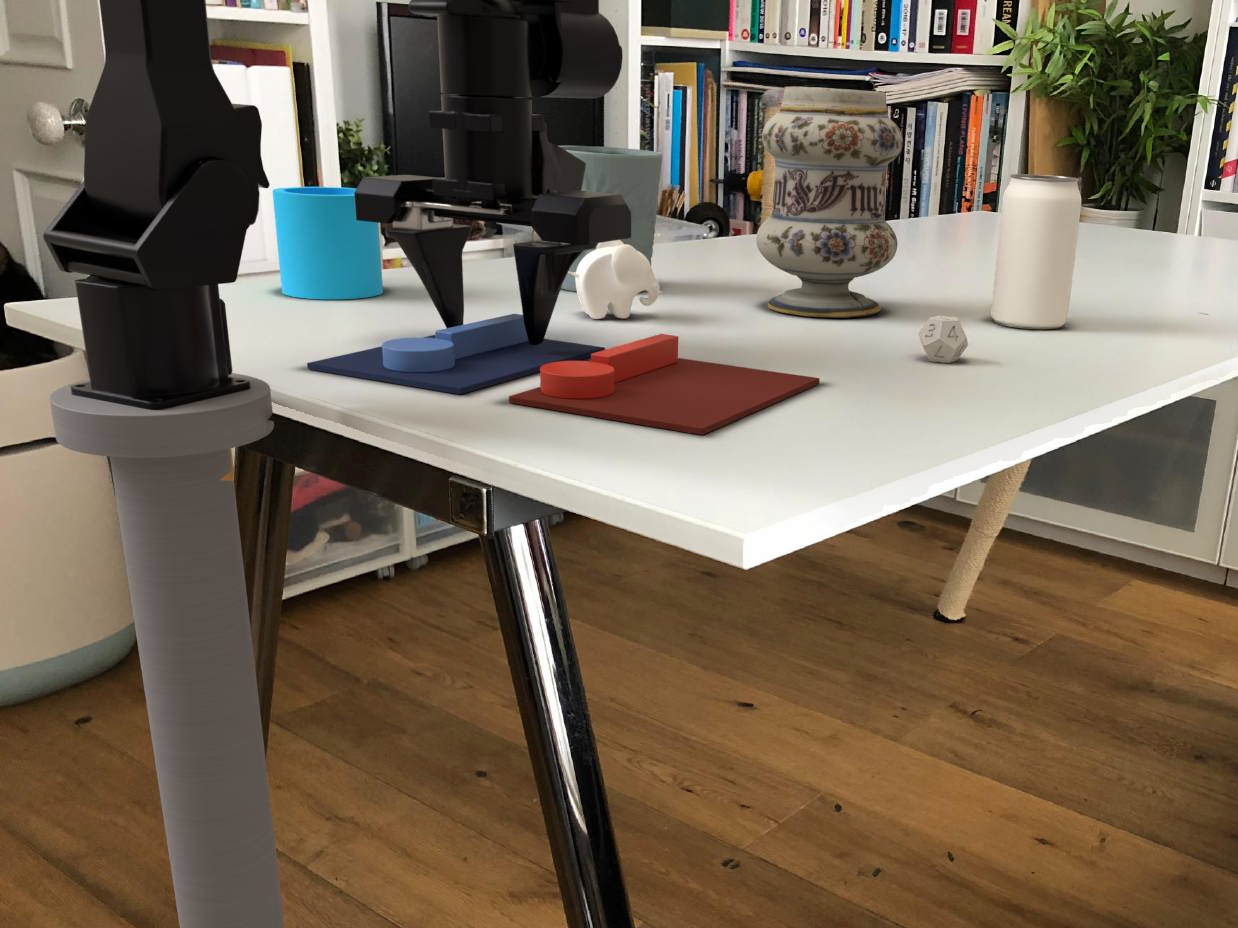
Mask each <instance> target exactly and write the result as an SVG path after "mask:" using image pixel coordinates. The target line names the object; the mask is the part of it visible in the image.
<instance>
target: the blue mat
mask: <svg viewBox="0 0 1238 928" xmlns="http://www.w3.org/2000/svg"><path fill="white" fill-rule="evenodd" d="M421 338H436V336H435V334H432V335H426V336H423V337H422V336H421ZM603 350H606V347H605V346H597V345H592V344H584V343H577V342H569V341H563V340H556V339H549V338H544V340H543V342H542V343H541V344H538V345H530V344H529V341H528V342H524V343H520V344H516V345H512V346H508V347H504V348H500V349H496V350H492V351H488V352H484V353H480V354H476V355H472V356H468V357H464V358H460V359H456V360H455V365H454V367H453V368H451V369H448V370H444V371H438V372H428V373H408V372H398V371H393V370H389V369H387V368H385V367H384V366H383V352H382V346H378V347H373V348H369V349H365V350H360V351H355V352H351V353H346V354H342V355H337V356H333V357H328V358H323V359H318V360H315V361H310V362H307V364H306V367H307V370H313V371H318V372H324V373H328V374H329V373H330V374H336V375H341V376H348V377H353V378H358V379H359V378H360V379H364V380H365V379H366V380H371V381H378V382H385V383H389V384H395V385H401V386H407V387H412V388H418V389H419V388H420V389H424V390H432V391H437V392H443V393H448V394H456V395H464V394H467V393H471V392H474V391H477V390H480V389H484V388H485V389H486V388H488V387H491V386H496V385H499V384H502V383H505V382H508V381H512V380H516V379H519V378H523V377H526V376H529V375H533V374H536V373H540V368H541V366H543V365H545V364H548V363H553V362H560V361H583V360H585V359H588V358H591V354H592V353H596V352H599V351H603Z"/></svg>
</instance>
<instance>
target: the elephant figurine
mask: <svg viewBox="0 0 1238 928" xmlns="http://www.w3.org/2000/svg"><path fill="white" fill-rule="evenodd" d="M568 273H570V274H572V275H573V276H575V282H576V289H577V291H576V294H577V297H578V300H579V302H580V306H581V308H582V310H583V311H584V313H585V314H586V315H588V316H589V317H590V318H591V319H594V320H600V319H601V320H602V319H604V318H605V317H606V316H607V313H610V314H612V315H614V317H615V318H617V319H622V320H623V319H628V318H629V317H630V315H631V310H632V305H633V301H634V300H635V297H636V296H637V295H638V294H639V293H641V292H644V291H646V292H647V293H648V297H643V296H640V297H639V298H638V299H639V300H638V301H639V302H640V304H642V305H643V306H646V307H649V306H651V305H653V304H654V303H655V302H656V301H657V300H658V297H659V294H664V292H663V291H661V290H660V289H661V287H660V283H659V281H658V279H657V278H656V276H655V274H654V271H653V268H652V264H651V265H650V263H649V261H648V259H647V258H646V257H645V256H644V255H643V254H642V253H640V252H639V251H637V250H636V249H635V248H633V247H632V246H631V245H627V244H626V245H624V243H623V242H622V241H620V240H615V241H608V242H602V243H599V244H598V246H597V248H596V250H594V251H592V252H590V253H589V254H587V255H586V256H585V257H584V258H583V259H582V260H581V262H580V263H579V265H578V267H577V270H576V272H569V271H568Z"/></svg>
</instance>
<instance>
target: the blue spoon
mask: <svg viewBox="0 0 1238 928" xmlns="http://www.w3.org/2000/svg"><path fill="white" fill-rule="evenodd" d="M434 335H435V336H436V338H422V337H402V338H401V337H400V338H395V339H390V340H386V341H384V342H383V343H382V344H381V347H382V352H383V366H384V367H385V368H387V369H389V370H393V371H398V372H408V373H428V372H438V371H444V370H448V369H451V368H453V367H454V365H455V360H456V359H460V358H464V357H468V356H472V355H476V354H480V353H484V352H488V351H492V350H496V349H500V348H504V347H508V346H512V345H516V344H520V343H524V342H528V337H527V333H526V329H525V325H524V319H523V314H519V313H511V314H510V313H509V314H506V315H501V316H496V317H493V318H488V319H487V318H486V319H482V320H478V321H474V322H469V323H465V324H464V323H463V325H460V326H455V327H451V328H446V327H445V328H442V329H437V330H435V333H434Z"/></svg>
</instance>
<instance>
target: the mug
mask: <svg viewBox="0 0 1238 928" xmlns="http://www.w3.org/2000/svg"><path fill="white" fill-rule="evenodd" d="M356 189H357V187H356V188H354V187H338V186H335V187H334V186H291V187H290V186H289V187H278V188H274V189H272V201H273V212H274V221H275V231H276V232H275V233H276V245H277V254H278V262H279V263H278V265H279V274H280V276H279V277H280V286H281V293H282V294H283V295H285V296H288V297H294V298H299V299H300V298H301V299H309V300H355V299H366V298H372V297H377V296H380V295H382V294H383V293H384V287H383V285H384V284H383V272H382V270H383V269H382V256H381V239H380V226H379V224H380V223H376V222H367V221H358V220H356V213H355V199H354V193H355V191H356Z"/></svg>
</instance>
